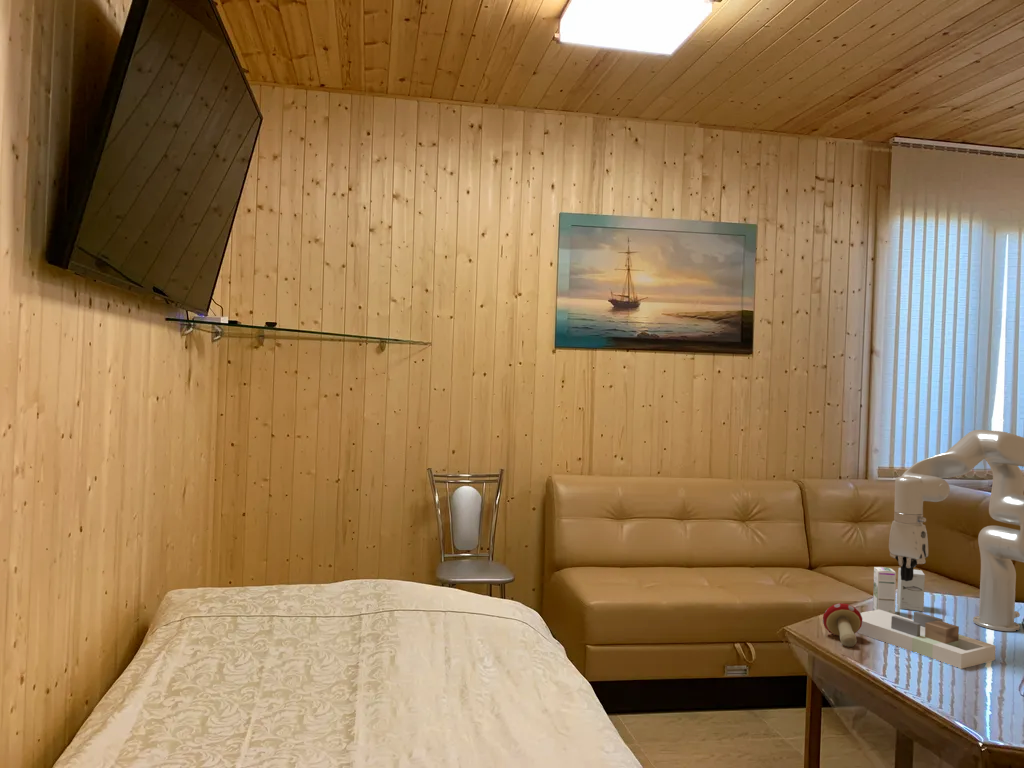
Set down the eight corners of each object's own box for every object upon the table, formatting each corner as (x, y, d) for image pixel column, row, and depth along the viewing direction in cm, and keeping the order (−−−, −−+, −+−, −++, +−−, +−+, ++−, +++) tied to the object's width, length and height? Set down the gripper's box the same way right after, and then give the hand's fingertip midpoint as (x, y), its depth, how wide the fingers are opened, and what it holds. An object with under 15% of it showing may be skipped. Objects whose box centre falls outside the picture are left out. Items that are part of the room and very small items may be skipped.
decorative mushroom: (859, 622, 217) (847, 590, 231) (821, 637, 221) (813, 604, 235) (878, 651, 219) (866, 617, 233) (841, 665, 223) (831, 631, 237)
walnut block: (937, 634, 223) (938, 620, 223) (958, 640, 218) (958, 626, 218) (924, 636, 220) (925, 622, 220) (945, 643, 215) (945, 629, 215)
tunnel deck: (878, 621, 246) (879, 598, 246) (995, 660, 215) (996, 633, 215) (845, 628, 238) (846, 604, 238) (960, 668, 207) (962, 641, 207)
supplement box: (899, 609, 261) (900, 571, 261) (896, 603, 268) (898, 567, 268) (923, 612, 259) (925, 574, 259) (920, 606, 266) (921, 569, 266)
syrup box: (895, 615, 253) (897, 571, 253) (876, 614, 254) (878, 570, 254) (890, 610, 259) (892, 567, 259) (871, 609, 260) (873, 566, 260)
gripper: (940, 522, 225) (938, 584, 225) (893, 513, 238) (891, 572, 238) (924, 524, 221) (922, 588, 222) (877, 515, 234) (876, 575, 235)
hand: (906, 579), depth 230 cm, fingers closed
